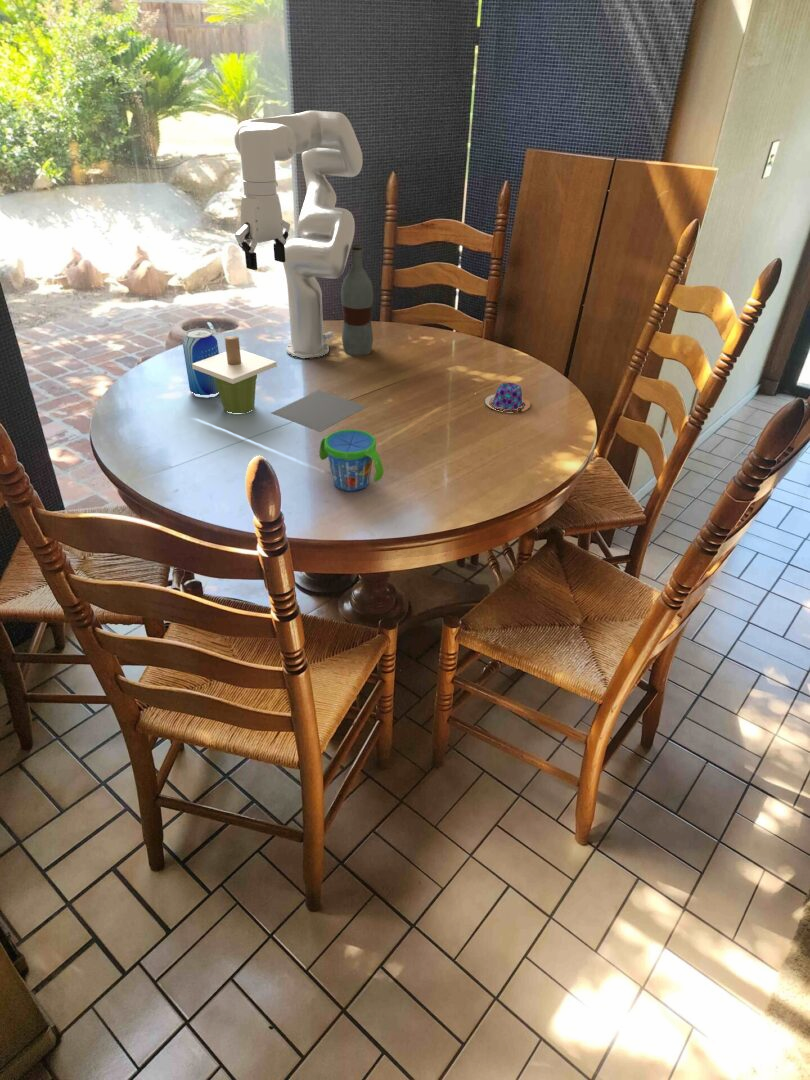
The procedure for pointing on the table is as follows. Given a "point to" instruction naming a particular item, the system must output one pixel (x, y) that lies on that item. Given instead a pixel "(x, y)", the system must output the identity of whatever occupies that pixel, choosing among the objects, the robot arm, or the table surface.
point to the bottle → (357, 308)
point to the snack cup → (351, 458)
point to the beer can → (196, 349)
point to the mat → (319, 410)
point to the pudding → (507, 397)
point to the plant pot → (237, 394)
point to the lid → (234, 363)
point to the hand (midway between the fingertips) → (266, 265)
